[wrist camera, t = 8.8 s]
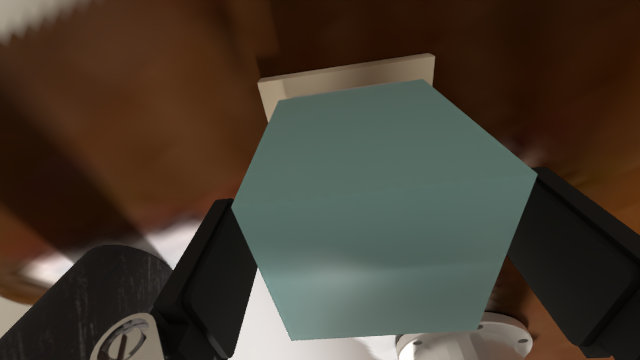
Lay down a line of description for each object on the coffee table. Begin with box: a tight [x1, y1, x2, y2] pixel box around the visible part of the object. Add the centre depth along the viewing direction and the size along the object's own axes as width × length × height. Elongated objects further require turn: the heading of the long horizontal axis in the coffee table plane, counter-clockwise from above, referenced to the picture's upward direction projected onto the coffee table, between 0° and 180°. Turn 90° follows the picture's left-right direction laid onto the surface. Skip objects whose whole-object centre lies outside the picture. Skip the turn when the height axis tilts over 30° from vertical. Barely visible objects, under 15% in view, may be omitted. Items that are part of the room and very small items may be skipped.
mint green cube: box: [231, 79, 538, 341], centre depth 9 cm, size 6×6×6 cm
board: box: [258, 53, 435, 123], centre depth 15 cm, size 8×14×1 cm, turn 8°
